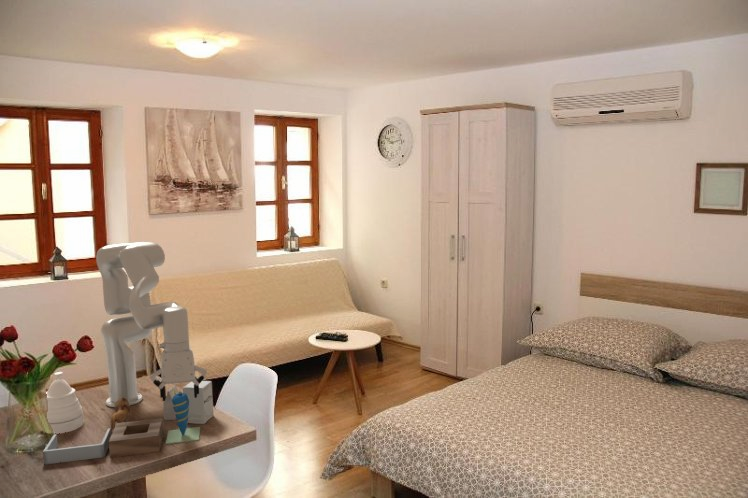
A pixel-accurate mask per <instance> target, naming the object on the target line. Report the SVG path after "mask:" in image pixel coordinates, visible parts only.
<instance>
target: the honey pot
mask: <svg viewBox="0 0 748 498" xmlns="http://www.w3.org/2000/svg"><path fill="white" fill-rule="evenodd" d="M63 374H64V373H63V371H58V372H55V373H54V378H56V379H54V380H53V381H52V383H51V384H50V385H49V387H48V389H47V391H45V392H46V394H47V400H48V412H47V419H48V422H49V423H50V425H51V427H52V429H53V431H54V432H55V433H56V434H57V435H58V434H59V433H60V434H65V432H66V433H68V432H72V431H76V430H77V429H79V428H81V427H82V426H83V425H84V422H85V421H84V411H83V407H82V405H81V403H80V401H79V399H78V397H77V395H76V389H75V388H73V387H71V386H70V384H69V383H68V382H67V381H66V380H65V379H64V378H62V377H63Z"/></svg>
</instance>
